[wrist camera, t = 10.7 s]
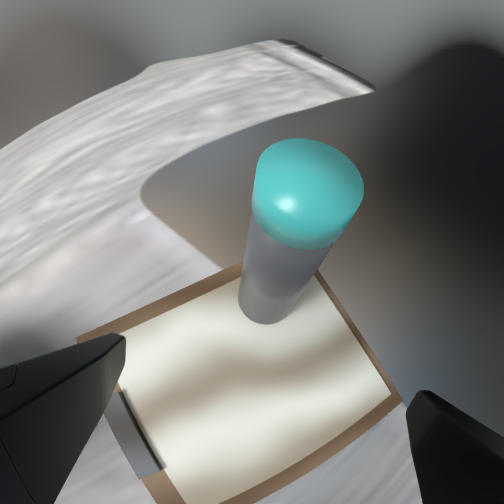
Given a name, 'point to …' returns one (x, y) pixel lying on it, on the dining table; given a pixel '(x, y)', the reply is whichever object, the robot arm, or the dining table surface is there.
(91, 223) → the dining table surface
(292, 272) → the marker
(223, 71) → the dining table surface
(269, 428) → the clipboard
